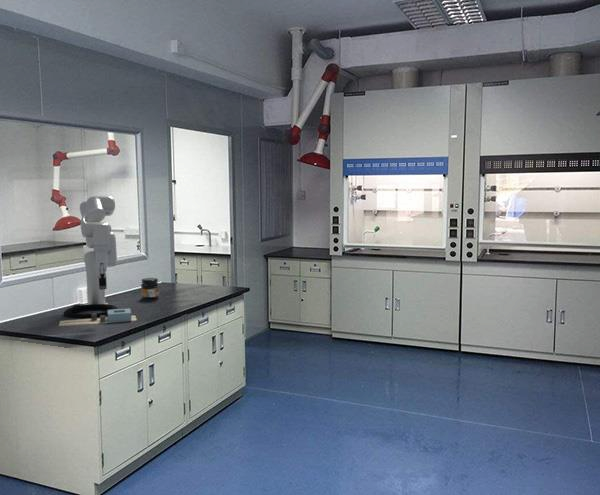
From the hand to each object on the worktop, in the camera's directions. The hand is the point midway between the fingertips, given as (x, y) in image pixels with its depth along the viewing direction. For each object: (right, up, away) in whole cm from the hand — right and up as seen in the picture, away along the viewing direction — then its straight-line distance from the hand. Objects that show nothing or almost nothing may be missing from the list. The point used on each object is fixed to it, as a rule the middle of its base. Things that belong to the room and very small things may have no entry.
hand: (102, 284), depth 275 cm
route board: (-2, -19, +1) cm, 19 cm away
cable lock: (-14, -18, +20) cm, 30 cm away
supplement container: (+6, -13, +64) cm, 65 cm away
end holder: (+7, -18, +4) cm, 20 cm away
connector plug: (0, -2, 0) cm, 2 cm away
